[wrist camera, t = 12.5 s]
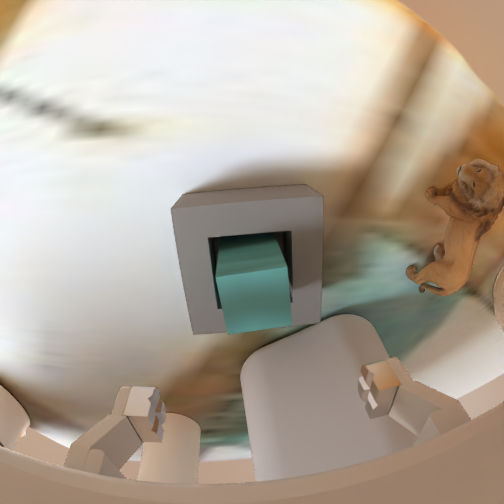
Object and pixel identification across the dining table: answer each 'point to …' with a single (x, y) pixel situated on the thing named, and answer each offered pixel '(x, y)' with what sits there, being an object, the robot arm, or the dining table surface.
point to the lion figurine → (462, 225)
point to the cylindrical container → (173, 453)
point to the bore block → (249, 222)
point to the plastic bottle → (316, 401)
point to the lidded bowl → (499, 298)
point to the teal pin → (253, 283)
